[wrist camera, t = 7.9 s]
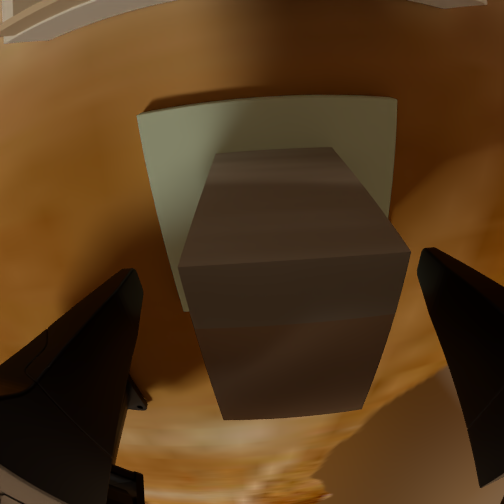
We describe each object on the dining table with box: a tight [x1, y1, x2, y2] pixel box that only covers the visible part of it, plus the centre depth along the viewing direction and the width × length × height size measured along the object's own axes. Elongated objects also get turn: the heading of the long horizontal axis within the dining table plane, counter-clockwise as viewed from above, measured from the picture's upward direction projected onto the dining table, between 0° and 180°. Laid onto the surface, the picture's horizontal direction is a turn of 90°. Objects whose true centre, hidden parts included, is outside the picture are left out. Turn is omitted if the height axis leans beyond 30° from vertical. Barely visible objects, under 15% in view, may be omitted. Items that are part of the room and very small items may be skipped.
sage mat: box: [137, 95, 397, 312], centre depth 12 cm, size 9×9×1 cm
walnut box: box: [178, 147, 411, 420], centre depth 9 cm, size 6×4×6 cm
